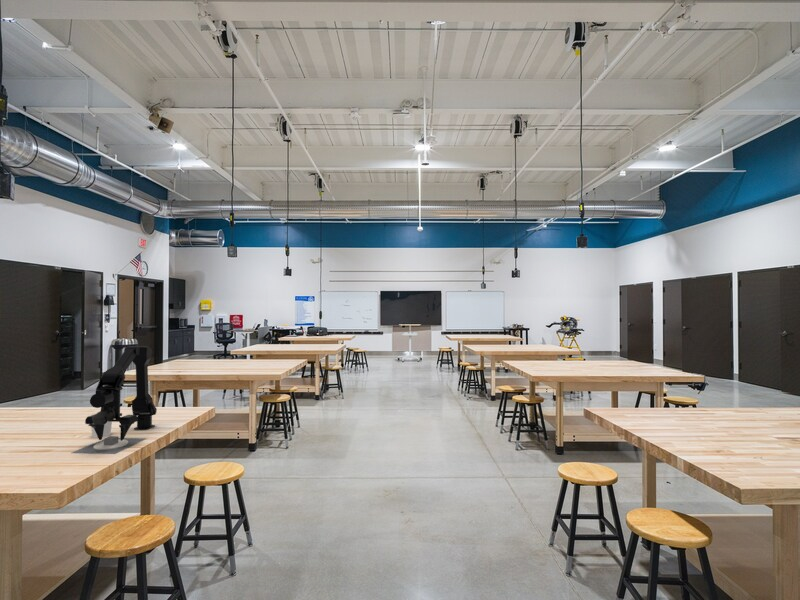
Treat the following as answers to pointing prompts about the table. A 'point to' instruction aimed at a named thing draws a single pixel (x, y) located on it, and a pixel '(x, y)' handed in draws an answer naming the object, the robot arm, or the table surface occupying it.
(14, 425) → the table surface
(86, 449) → the charcoal mat
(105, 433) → the white cup
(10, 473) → the table surface
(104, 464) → the table surface
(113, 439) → the lid
